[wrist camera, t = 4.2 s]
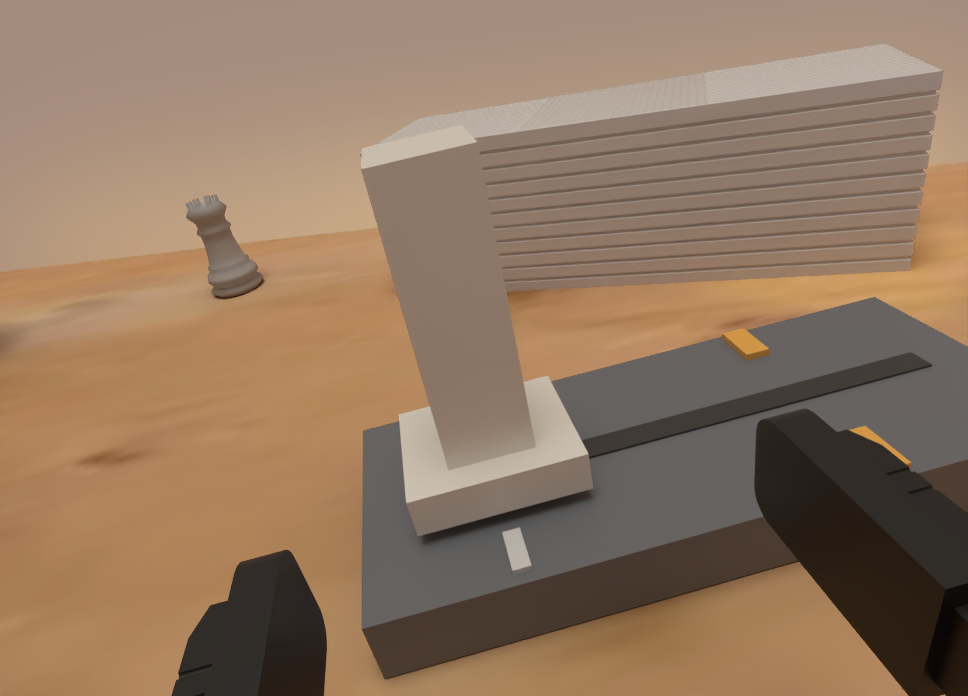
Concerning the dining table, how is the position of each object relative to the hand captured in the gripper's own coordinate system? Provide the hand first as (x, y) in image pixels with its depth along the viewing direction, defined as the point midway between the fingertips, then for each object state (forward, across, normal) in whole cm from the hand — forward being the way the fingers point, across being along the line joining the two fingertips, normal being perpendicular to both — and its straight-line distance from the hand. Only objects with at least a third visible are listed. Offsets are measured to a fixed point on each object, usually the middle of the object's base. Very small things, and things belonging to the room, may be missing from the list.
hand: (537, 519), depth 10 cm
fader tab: (+10, 0, -7) cm, 12 cm away
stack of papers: (+32, +14, -10) cm, 36 cm away
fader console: (+10, +7, -10) cm, 16 cm away
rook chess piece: (+45, -17, -10) cm, 49 cm away
